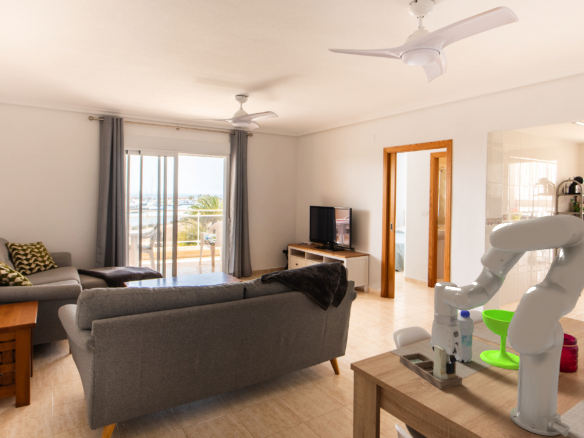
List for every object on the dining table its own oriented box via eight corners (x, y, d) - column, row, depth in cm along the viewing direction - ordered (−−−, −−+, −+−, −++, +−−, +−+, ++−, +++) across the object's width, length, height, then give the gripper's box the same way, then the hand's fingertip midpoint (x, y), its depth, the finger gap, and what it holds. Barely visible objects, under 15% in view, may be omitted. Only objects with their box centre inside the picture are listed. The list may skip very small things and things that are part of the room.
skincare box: (440, 385, 128) (441, 349, 127) (432, 379, 132) (433, 344, 132) (456, 382, 130) (457, 347, 129) (448, 376, 134) (449, 343, 133)
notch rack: (462, 384, 129) (462, 377, 129) (440, 389, 126) (440, 382, 126) (419, 358, 150) (419, 352, 150) (399, 361, 147) (399, 355, 147)
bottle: (468, 357, 152) (470, 308, 151) (475, 364, 145) (477, 313, 144) (451, 356, 152) (453, 307, 151) (457, 363, 146) (459, 312, 145)
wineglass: (518, 354, 155) (520, 311, 154) (532, 371, 140) (535, 324, 139) (475, 349, 159) (477, 307, 158) (485, 366, 144) (487, 320, 142)
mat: (429, 366, 143) (429, 365, 143) (413, 369, 141) (413, 368, 141) (418, 359, 149) (418, 358, 149) (403, 362, 146) (403, 361, 146)
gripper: (473, 324, 123) (472, 379, 124) (437, 310, 139) (436, 359, 140) (455, 327, 121) (454, 383, 122) (420, 312, 137) (419, 362, 137)
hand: (444, 369), depth 131 cm, fingers closed on skincare box, 4 cm apart
